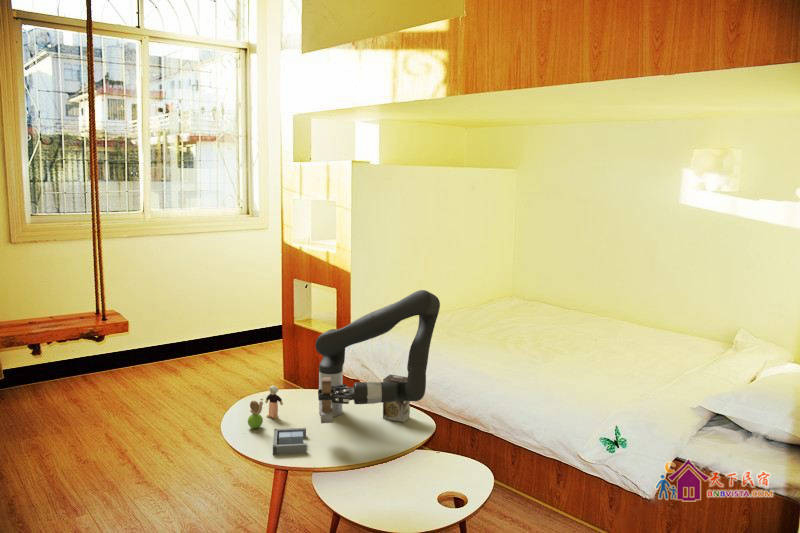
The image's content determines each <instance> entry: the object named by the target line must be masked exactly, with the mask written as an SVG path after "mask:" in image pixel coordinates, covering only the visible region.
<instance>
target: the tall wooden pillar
mask: <svg viewBox="0 0 800 533" xmlns="http://www.w3.org/2000/svg"><path fill="white" fill-rule="evenodd" d="M326 393H329V395H330V393H331V377H326V378H322V394H326ZM319 415H320V424H333V423H334V417H333V412H332V405H331V401H330V400H322V405H320V414H319Z"/></svg>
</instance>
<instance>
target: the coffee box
mask: <svg viewBox="0 0 800 533" xmlns="http://www.w3.org/2000/svg"><path fill="white" fill-rule="evenodd" d="M407 378H408V376H402V375H396V374H389V375H387V376H385V377H384V378H383V379H382V382H394V383H397V382H407ZM410 403H411V401H394V402H383V403H382V419H384V420H389V421H390V420H391V421H395V422H401V423H404V422H406V421H407V420H408V419H410V415H411V414H410V413H411V412H410V411H411V410H410V408H411V404H410Z"/></svg>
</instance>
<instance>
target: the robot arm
mask: <svg viewBox="0 0 800 533" xmlns="http://www.w3.org/2000/svg"><path fill="white" fill-rule="evenodd" d="M440 306H441V302H440V300H439V297H437V296H436V295H435V294H433V293H432V292H430V291H428V290H425V289H420V290H417V291H414V292H412V293H411V294H409V295H407V296H405V297H404V298H402V299H400V300H398V301H396V302H394V303H391V304H388V305H387V306H384V307H381V308H379V309H377V310H374V311H371V312H369V313H367V314H365V315H363V316H361V317H359V318H357V319H355V320H353V321H352V322H350V323H349V324H347V325H346V326H343V327H342V328H338V329H337V328H332V329H329V330H327V331H325V332H323V333H321V334H320V335H319V336H318V337H317V338H316V341H315V345H314V346H315V347H314V348H315V350H316V352H317V353H318V354H320V355H321V356H322V358H321V361H320V362H319V363H318V364H319V365H318V390H317V396H318V397H317V398H318V413H319V415H320V405H322V400H330V401H331V405H332V412H333V418H334V417H339V416H340V415H342V414H343V405H349V403H350V402H351V401H353V403H354V405H374V404H379V403H380V404H381V403H382V404H383V402H394V401H410V402H418V401H421V400H423V398H424V397H425V394H426V388H427V386H426V385H427V368H428V360H429V352H430V347H431V343H432V342H431V341H432V338H433V333H434V329H435V327H436V326H435V325H436V323H437V319H438V316H439V313H440V308H441V307H440ZM416 316H418V327H417V331H416V334H415V335H414V338H413V340H412V343H411V346H410V349H409V352H408V359H407V364H406V365H407V367H406V368H407V369H406V370H407V377H408V378H407V382H397V383H394V382H383V381H382V382H377V381H364V382H363V381H361V382H359V381H358V382H357V381H356V382H354V383H353V386H347V383H344V382H343V378H344V377H343V368H344V364H345V358H346V348H347V347H349V346H352V345H355V344H359V343H362V342H365V341H369V340H371V339H374V338H377V337H379V336H381V335H384V334H387V333H389V332H390V331H391V330H392V329H394V328H395V327H396V326H397V325H398V324H399V323H400V322H402V321H405V320H406V319H409V318H412V317H416ZM326 377H331V393H330V395H329V393H326V394H322V378H326Z"/></svg>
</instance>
